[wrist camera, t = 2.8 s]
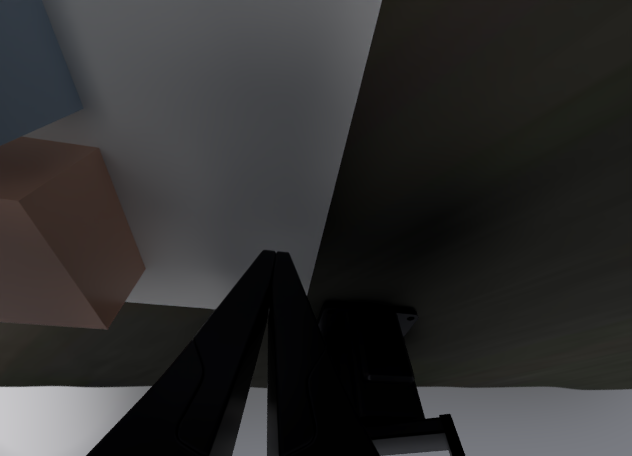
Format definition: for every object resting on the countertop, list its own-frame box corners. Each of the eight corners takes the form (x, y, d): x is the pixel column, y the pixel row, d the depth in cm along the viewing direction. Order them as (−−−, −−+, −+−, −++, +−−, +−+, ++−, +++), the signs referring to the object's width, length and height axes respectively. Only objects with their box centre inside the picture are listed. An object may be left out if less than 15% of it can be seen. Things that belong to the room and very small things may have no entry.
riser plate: (303, 268, 15) (301, 316, 12) (7, 237, 13) (-58, 287, 11) (389, -136, 6) (439, -227, 4) (-528, -416, 4) (-1636, -974, 2)
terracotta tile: (145, 268, 10) (107, 329, 8) (1, 255, 10) (-76, 316, 8) (98, 147, 7) (18, 201, 5) (-124, 115, 6) (-311, 161, 4)
